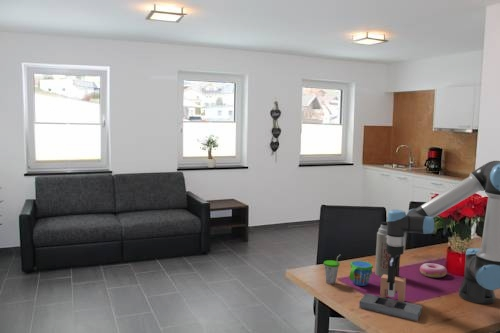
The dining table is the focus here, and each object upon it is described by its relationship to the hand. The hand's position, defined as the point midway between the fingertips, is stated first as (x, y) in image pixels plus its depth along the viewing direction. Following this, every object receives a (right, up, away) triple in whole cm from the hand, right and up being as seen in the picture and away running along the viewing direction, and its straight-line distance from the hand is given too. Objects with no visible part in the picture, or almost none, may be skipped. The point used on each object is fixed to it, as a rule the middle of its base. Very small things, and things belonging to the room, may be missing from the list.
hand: (392, 294), depth 204 cm
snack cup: (-10, -1, +20) cm, 22 cm away
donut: (+33, 0, +36) cm, 48 cm away
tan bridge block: (0, -2, 0) cm, 2 cm away
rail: (-4, -4, -11) cm, 12 cm away
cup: (-25, 0, +20) cm, 32 cm away
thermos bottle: (+5, +1, +34) cm, 34 cm away
